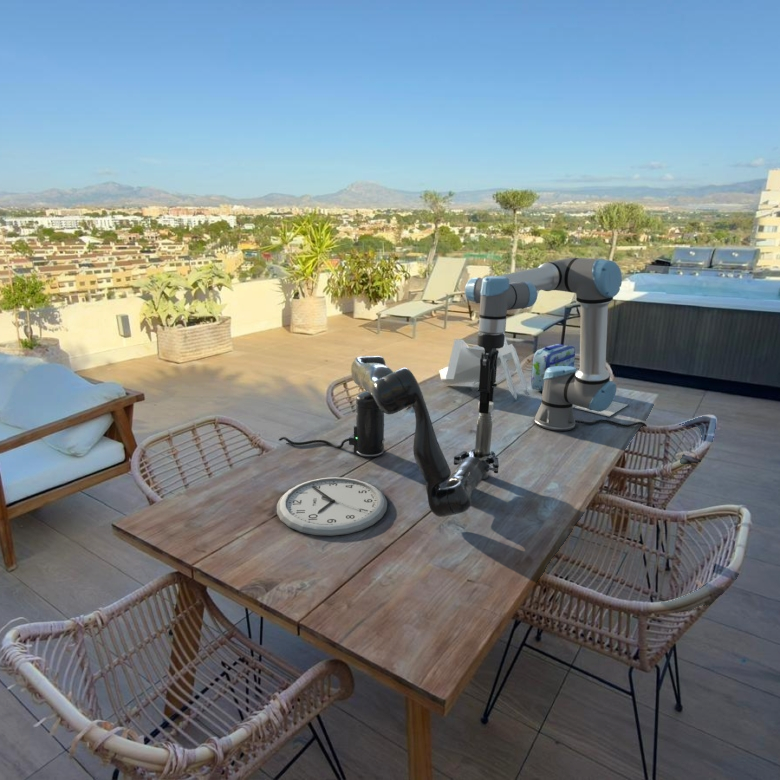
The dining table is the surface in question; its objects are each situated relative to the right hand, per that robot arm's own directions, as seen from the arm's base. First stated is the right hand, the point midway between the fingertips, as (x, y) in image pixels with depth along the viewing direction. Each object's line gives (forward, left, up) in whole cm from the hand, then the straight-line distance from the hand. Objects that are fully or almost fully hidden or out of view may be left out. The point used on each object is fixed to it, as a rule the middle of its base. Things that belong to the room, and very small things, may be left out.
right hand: (485, 410), depth 155 cm
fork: (+26, -63, -22) cm, 71 cm away
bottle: (0, 0, -21) cm, 21 cm away
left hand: (-1, -2, -15) cm, 15 cm away
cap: (0, 0, +2) cm, 2 cm away
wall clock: (+41, +24, -22) cm, 53 cm away
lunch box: (-38, -99, -21) cm, 108 cm away
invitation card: (-55, -75, -21) cm, 95 cm away
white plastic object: (-3, -86, -21) cm, 89 cm away
